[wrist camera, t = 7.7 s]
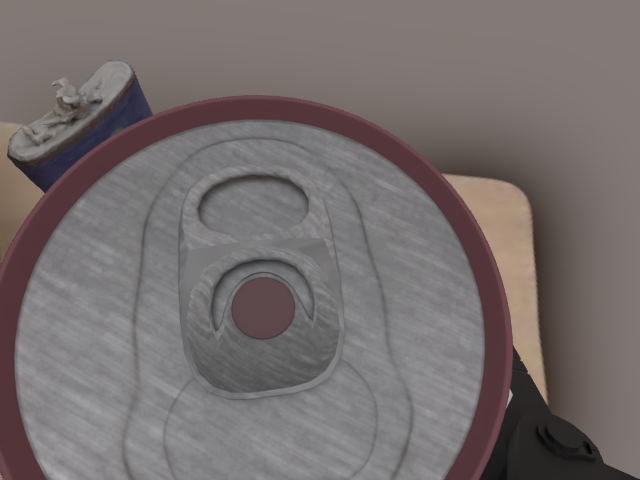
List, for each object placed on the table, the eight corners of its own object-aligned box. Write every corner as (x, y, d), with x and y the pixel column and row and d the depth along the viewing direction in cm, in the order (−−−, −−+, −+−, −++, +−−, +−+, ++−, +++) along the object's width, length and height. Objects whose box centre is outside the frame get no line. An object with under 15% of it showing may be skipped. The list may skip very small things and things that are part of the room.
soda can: (378, 470, 15) (668, 627, 4) (171, 505, 14) (-186, 834, 3) (347, 277, 18) (477, 49, 7) (168, 296, 17) (-38, 64, 6)
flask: (151, 135, 36) (103, 28, 26) (179, 153, 36) (140, 52, 26) (65, 217, 33) (-27, 129, 23) (94, 238, 33) (13, 158, 23)
